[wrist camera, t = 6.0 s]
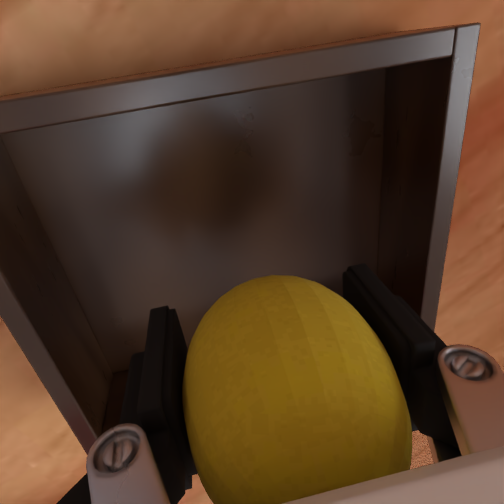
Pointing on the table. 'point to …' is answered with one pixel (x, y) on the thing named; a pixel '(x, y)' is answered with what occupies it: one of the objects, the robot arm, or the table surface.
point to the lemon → (290, 395)
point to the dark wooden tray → (222, 194)
